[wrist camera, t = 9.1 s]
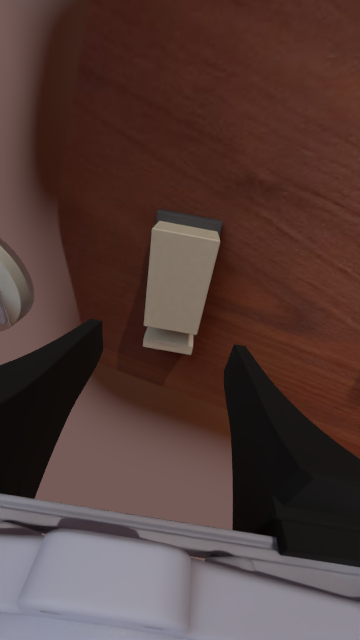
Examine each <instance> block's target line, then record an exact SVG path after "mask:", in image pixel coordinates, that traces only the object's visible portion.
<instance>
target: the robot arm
mask: <svg viewBox="0 0 360 640" xmlns="http://www.w3.org/2000/svg"><path fill="white" fill-rule="evenodd" d="M7 322H8V319H7V316H6V313H5V310H4V307H3V304H2V300H1V297H0V324H6V323H7ZM102 351H103V336H102V321H99V320H94V319H90V320H88V321H86V322H85V323H83V324H81V325H80V326H78V327H77V328H75V329H73V330H72V331H70V332H68V333H67V334H65V335H63V336H62V337H60V338H58V339H57V340H55V341H53V342H51V343H49V344H47V345H45V346H43V347H41V348H40V349H38V350H35V351H33V352H31V353H29V354H27V355H25V356H22V357H20V358H18V359H15V360H13V361H10V362H8V363H5V364H2V365H0V640H360V459H359V458H358V457H356V456H355V455H353V454H352V453H350V452H349V451H348V450H346V449H345V448H343V447H342V446H341V445H339V444H338V443H337V442H335V441H334V440H333V439H332V438H330V437H329V436H328V435H326V434H325V433H324V432H323V431H322V430H320V429H319V428H318V427H317V426H315V425H314V424H313V423H312V422H311V421H310V420H309V419H308V418H306V417H305V416H304V415H303V414H302V413H301V412H300V411H299V410H298V409H297V408H296V407H295V406H294V405H293V404H292V403H291V402H290V401H289V400H288V399H287V398H286V397H285V396H284V395H283V394H282V393H281V392H280V391H279V389H278V388H277V387H276V386H275V385H274V384H273V382H272V381H271V380H270V379H269V378H268V376H267V375H266V374H265V372H264V371H263V370H262V368H261V367H260V366H259V364H258V363H257V362H256V360H255V359H254V358H253V356H252V355H251V353H250V352H249V351H248V349H247V348H246V347H245V346H241V345H235V344H234V346H233V349H232V351H231V354H230V357H229V359H228V362H227V365H226V367H225V370H224V389H225V396H226V403H227V410H228V416H229V422H230V430H231V444H232V470H233V530H228V529H222V528H215V527H209V526H203V525H196V524H190V523H183V522H177V521H171V520H164V519H158V518H152V517H146V516H139V515H133V514H127V513H120V512H113V511H108V510H101V509H95V508H89V507H82V506H76V505H70V504H63V503H57V502H50V501H44V500H38V499H34V498H35V496H36V493H37V490H38V488H39V485H40V482H41V480H42V477H43V475H44V472H45V469H46V467H47V464H48V462H49V459H50V457H51V455H52V452H53V450H54V447H55V445H56V443H57V440H58V438H59V436H60V433H61V431H62V429H63V427H64V424H65V422H66V420H67V418H68V416H69V414H70V411H71V409H72V407H73V405H74V404H75V402H76V400H77V398H78V396H79V394H80V393H81V391H82V390H83V388H84V386H85V385H86V383H87V381H88V379H89V378H90V376H91V374H92V373H93V371H94V369H95V367H96V366H97V363H98V361H99V359H100V356H101V354H102ZM42 533H44V534H46V535H45V536H42ZM190 556H193V557H199V558H206V559H205V561H202V560H198V559H194V558H190Z"/></svg>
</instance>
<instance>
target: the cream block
mask: <svg viewBox="0 0 360 640" xmlns="http://www.w3.org/2000/svg"><path fill="white" fill-rule="evenodd" d="M222 224H223V223H222V221H221V220H215V219H210V218H205V217H199V216H194V215H189V214H183V213H178V212H173V211H167V210H162V209H160V210H158V211H157V219H156V225H155V226H154V227H153V228H152V235H151V247H150V258H149V270H148V281H147V293H146V305H145V316H144V326H146V333H145V336H144V340H143V347H149V348H154V349H160V350H166V351H171V352H177V353H183V354H188V355H191V353H192V349H193V341H194V338H195V335H197V332H198V328H199V324H200V320H201V317H202V313H203V309H204V305H205V301H206V297H207V293H208V289H209V285H210V281H211V277H212V273H213V269H214V265H215V261H216V257H217V253H218V249H219V245H220V238H219V237H220V233H221V229H222Z"/></svg>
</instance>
